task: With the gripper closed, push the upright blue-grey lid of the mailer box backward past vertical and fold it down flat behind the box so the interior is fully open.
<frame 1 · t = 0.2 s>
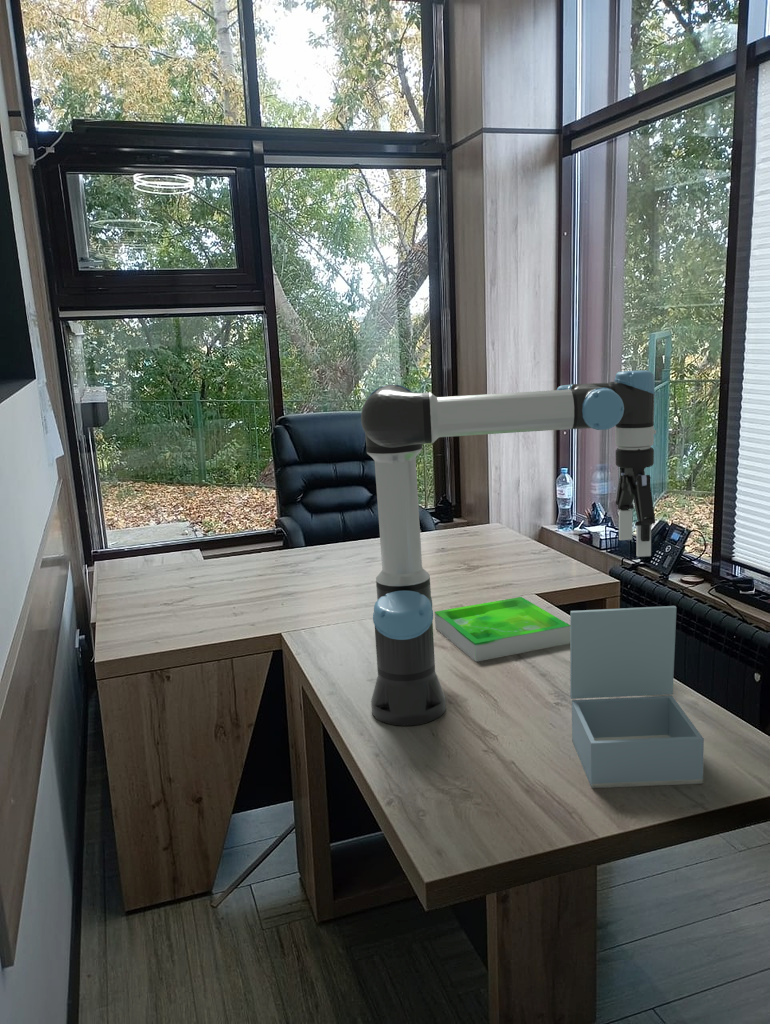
hand: (634, 547, 170), 28 cm above the table, fingers open, 13 cm apart
tray: (500, 638, 203), on the table
lid: (622, 653, 144), point 17 cm above the table, hinge at 85.0°
cup: (623, 671, 177), on the table
box: (633, 760, 140), on the table
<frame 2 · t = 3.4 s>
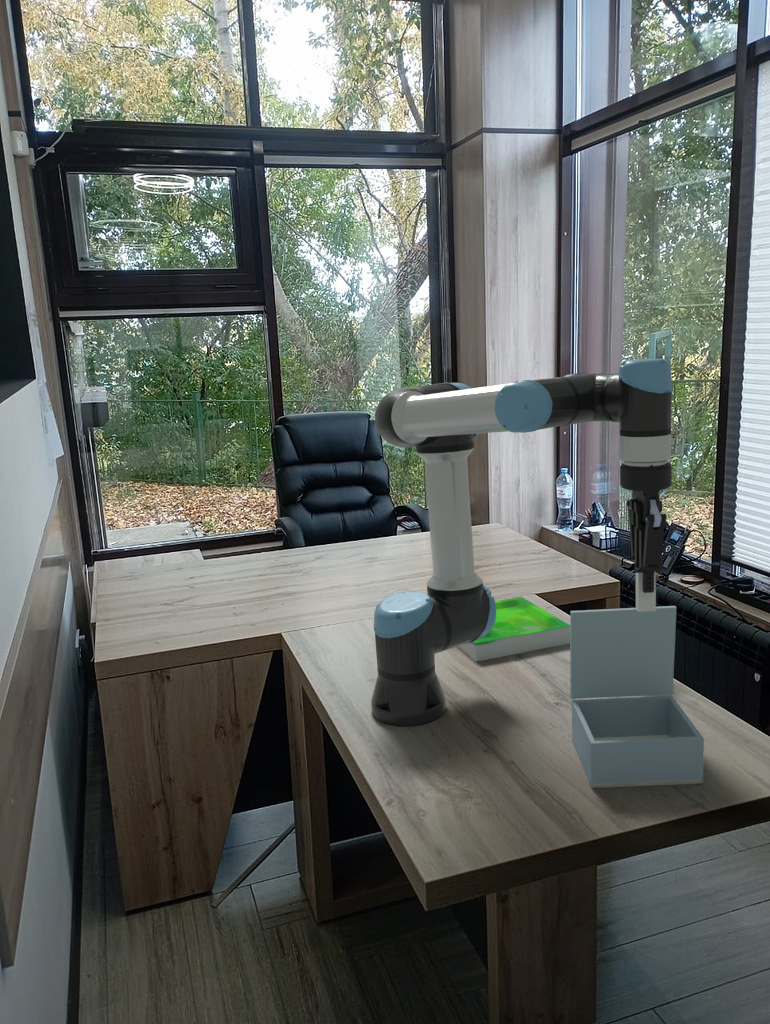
hand: (645, 609, 128), 30 cm above the table, fingers closed
nothing on the table moved.
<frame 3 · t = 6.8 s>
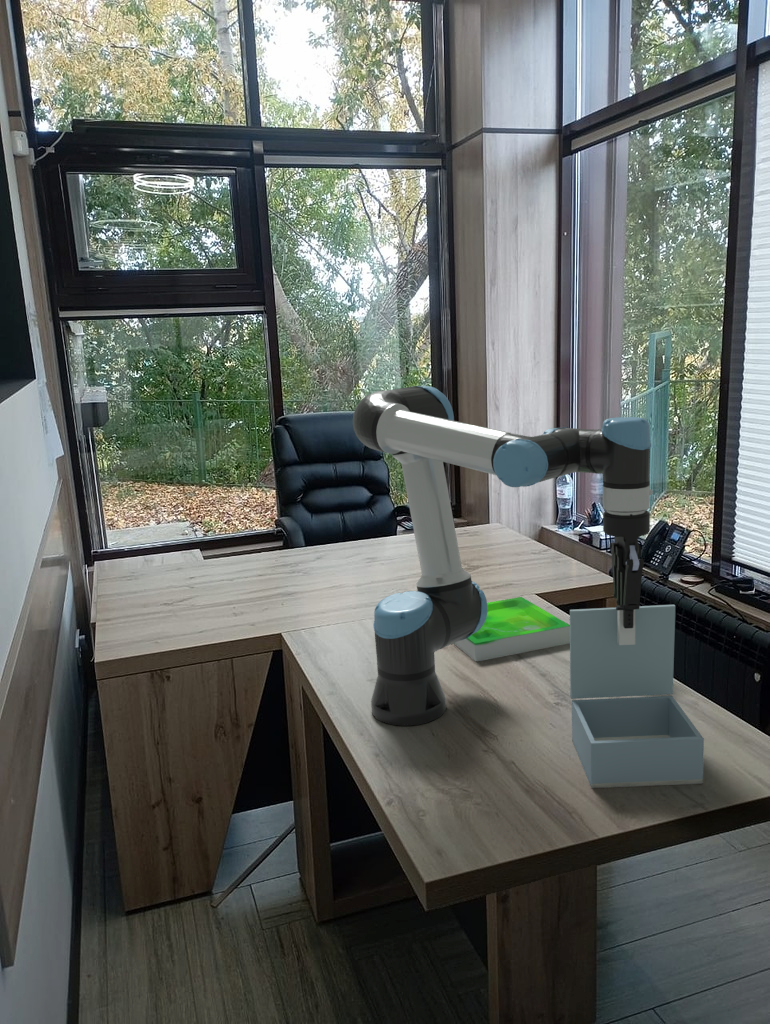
hand: (626, 643, 140), 20 cm above the table, fingers closed
lid: (621, 652, 144), point 17 cm above the table, hinge at 87.0°, touching gripper
everything else where it was.
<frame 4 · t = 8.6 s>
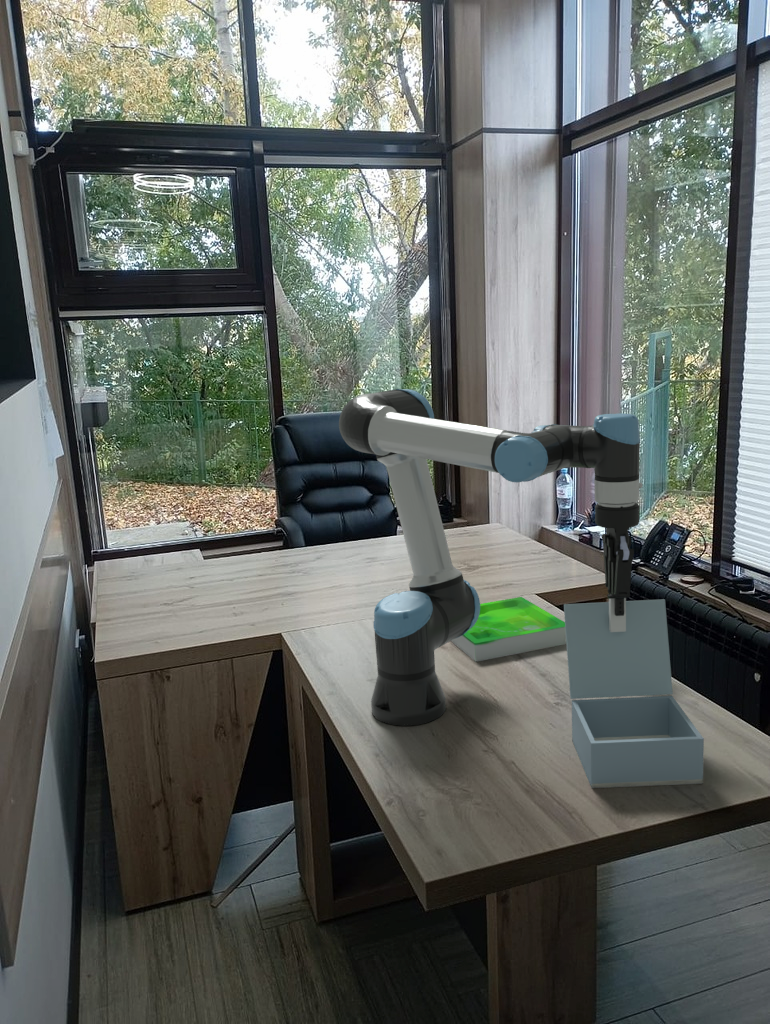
hand: (617, 630, 147), 20 cm above the table, fingers closed
lid: (617, 648, 147), point 16 cm above the table, hinge at 107.1°, touching gripper
everything else where it was.
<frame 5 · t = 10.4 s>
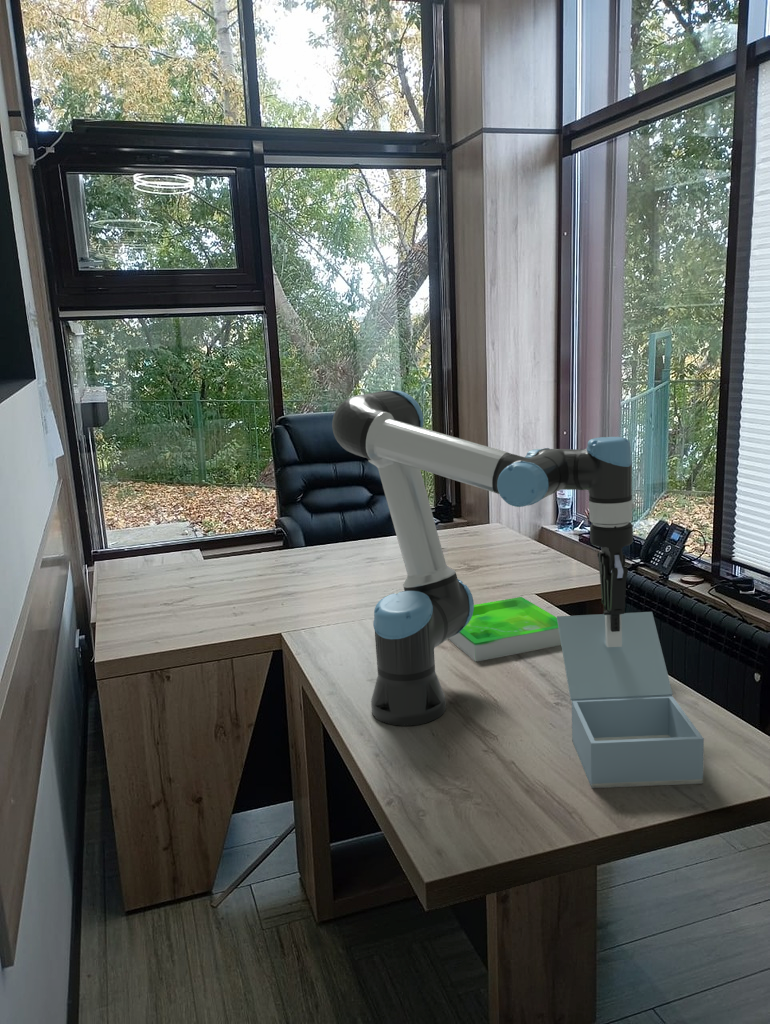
hand: (613, 645, 152), 15 cm above the table, fingers closed
lid: (612, 654, 152), point 14 cm above the table, hinge at 138.9°, touching gripper
everything else where it was.
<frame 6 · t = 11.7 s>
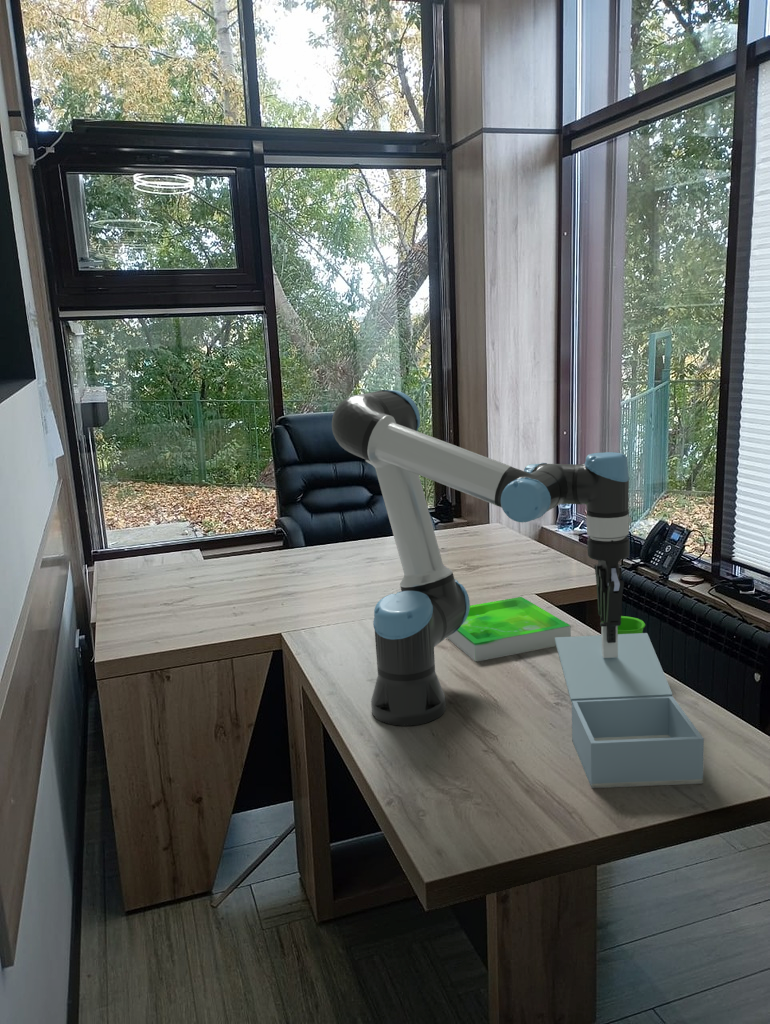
hand: (609, 656, 155), 12 cm above the table, fingers closed
lid: (610, 665, 154), point 11 cm above the table, hinge at 160.6°, touching gripper
everything else where it was.
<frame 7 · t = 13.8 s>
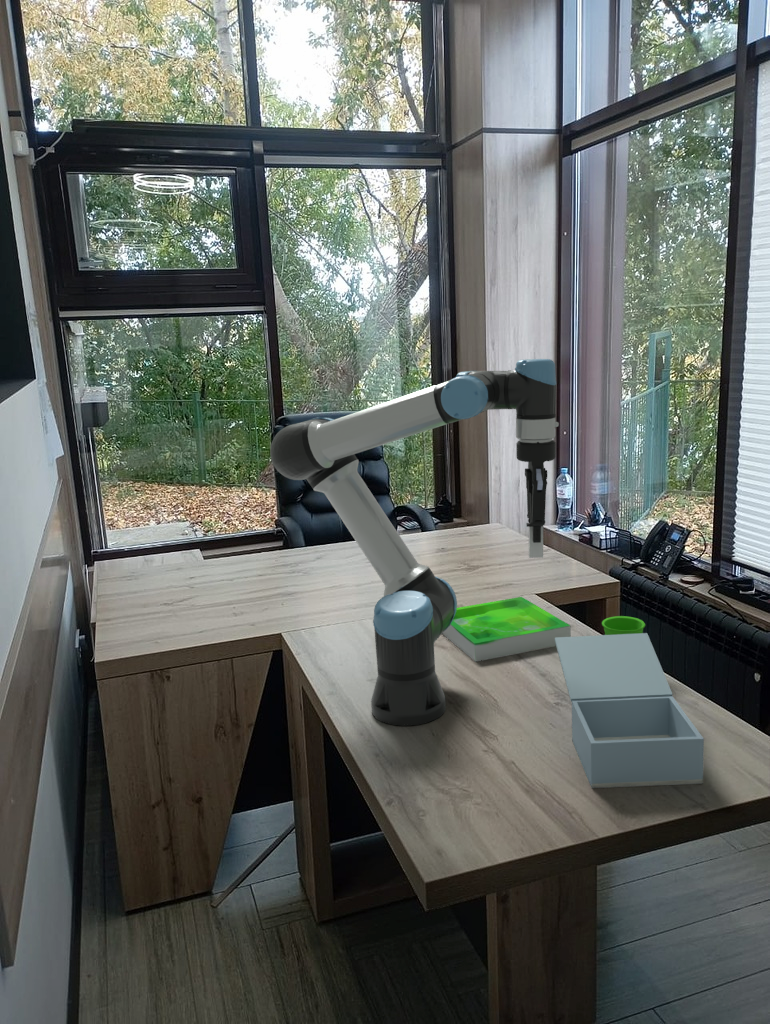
hand: (535, 556, 162), 30 cm above the table, fingers closed
lid: (610, 665, 154), point 11 cm above the table, hinge at 160.7°
everything else where it was.
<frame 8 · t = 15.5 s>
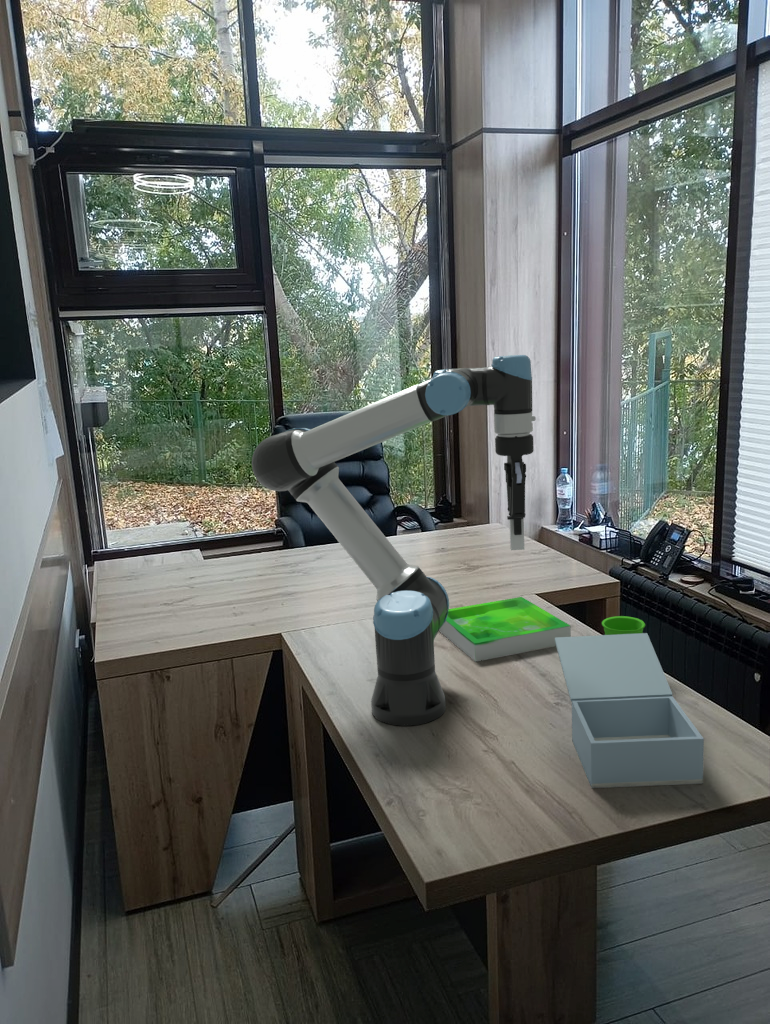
hand: (517, 548, 166), 30 cm above the table, fingers closed
nothing on the table moved.
at the end: lid at +161° (first picture: +85°); the gripper is holding nothing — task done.
